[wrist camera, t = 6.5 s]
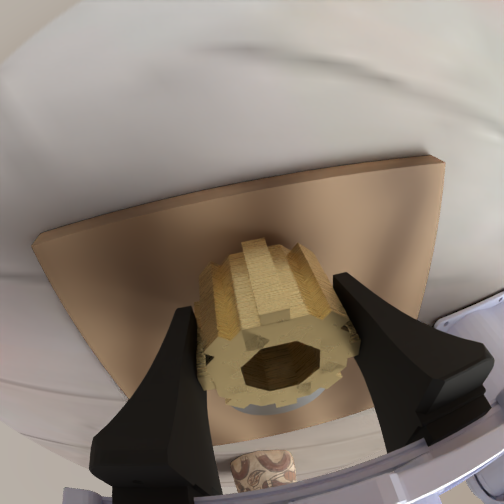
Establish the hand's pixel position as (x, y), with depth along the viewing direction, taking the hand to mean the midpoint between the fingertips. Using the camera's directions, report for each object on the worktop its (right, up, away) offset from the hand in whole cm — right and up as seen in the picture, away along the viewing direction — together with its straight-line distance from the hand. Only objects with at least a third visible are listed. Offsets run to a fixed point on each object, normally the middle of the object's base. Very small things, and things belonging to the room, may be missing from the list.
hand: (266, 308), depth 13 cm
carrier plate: (0, -4, +7) cm, 8 cm away
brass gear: (0, 0, +1) cm, 1 cm away
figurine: (+1, -22, +18) cm, 28 cm away
